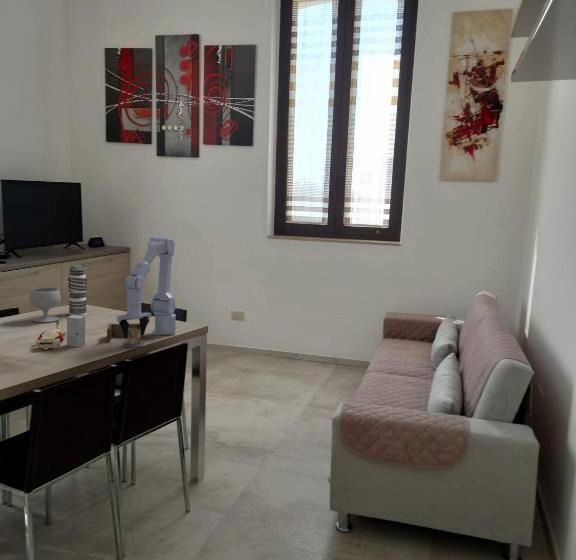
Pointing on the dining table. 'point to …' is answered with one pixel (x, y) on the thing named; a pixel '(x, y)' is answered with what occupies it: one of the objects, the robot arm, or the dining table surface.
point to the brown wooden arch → (119, 330)
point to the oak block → (134, 336)
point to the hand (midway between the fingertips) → (134, 336)
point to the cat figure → (51, 338)
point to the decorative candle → (77, 290)
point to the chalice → (44, 302)
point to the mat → (127, 345)
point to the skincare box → (75, 331)
